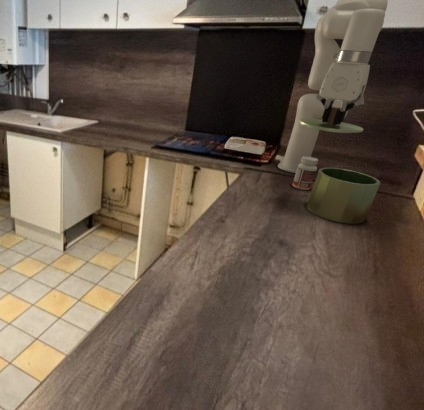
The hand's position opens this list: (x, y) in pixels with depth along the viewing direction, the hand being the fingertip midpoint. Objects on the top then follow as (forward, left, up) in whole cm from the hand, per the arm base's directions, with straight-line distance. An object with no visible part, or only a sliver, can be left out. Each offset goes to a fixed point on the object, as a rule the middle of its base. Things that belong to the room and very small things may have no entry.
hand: (331, 122), depth 109 cm
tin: (+9, +1, -27) cm, 28 cm away
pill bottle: (-9, +15, -27) cm, 32 cm away
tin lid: (0, 0, -1) cm, 1 cm away
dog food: (-53, +43, -27) cm, 73 cm away
